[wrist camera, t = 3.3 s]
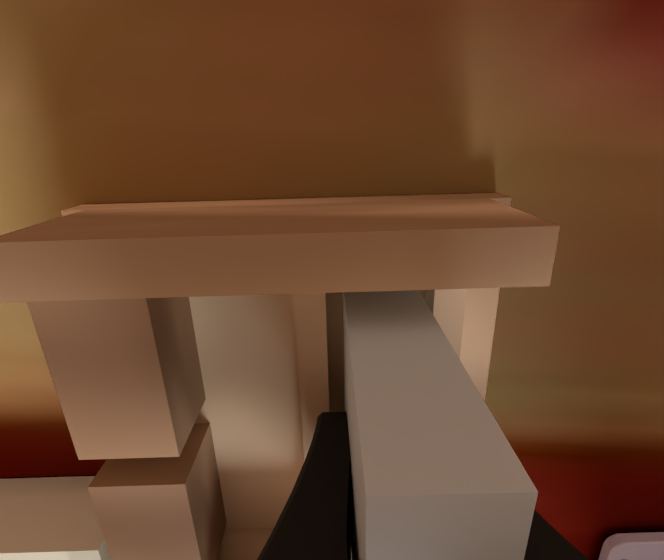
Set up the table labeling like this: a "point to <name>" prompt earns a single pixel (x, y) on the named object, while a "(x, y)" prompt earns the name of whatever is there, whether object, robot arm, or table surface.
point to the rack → (284, 303)
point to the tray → (49, 520)
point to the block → (424, 443)
